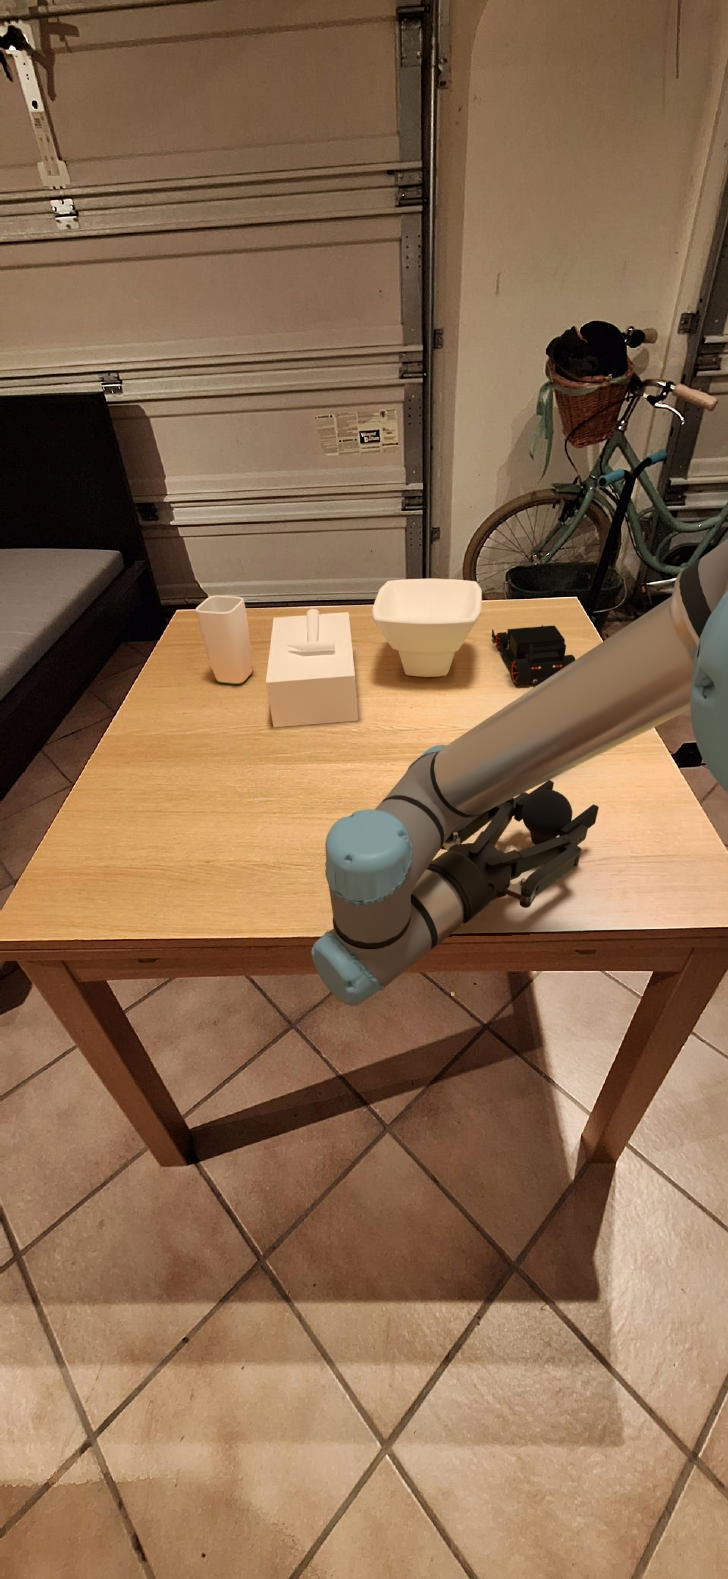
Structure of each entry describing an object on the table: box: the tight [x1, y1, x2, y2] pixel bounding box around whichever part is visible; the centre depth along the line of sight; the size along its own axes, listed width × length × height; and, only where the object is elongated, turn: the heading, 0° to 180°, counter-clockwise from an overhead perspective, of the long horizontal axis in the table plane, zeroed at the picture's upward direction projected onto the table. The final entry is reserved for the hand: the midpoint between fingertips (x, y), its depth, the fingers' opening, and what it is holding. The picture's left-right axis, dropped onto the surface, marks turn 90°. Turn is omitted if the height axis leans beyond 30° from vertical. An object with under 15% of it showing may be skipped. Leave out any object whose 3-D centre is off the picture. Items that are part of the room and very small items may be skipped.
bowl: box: [371, 578, 483, 678], centre depth 115 cm, size 19×19×14 cm
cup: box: [195, 595, 253, 685], centre depth 117 cm, size 7×7×15 cm
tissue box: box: [265, 608, 359, 728], centre depth 114 cm, size 14×25×11 cm, turn 3°
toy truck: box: [491, 624, 576, 686], centre depth 118 cm, size 10×20×7 cm, turn 4°
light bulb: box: [522, 789, 573, 847], centre depth 78 cm, size 6×6×10 cm
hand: (571, 801), depth 79 cm, fingers closed on light bulb, 6 cm apart
